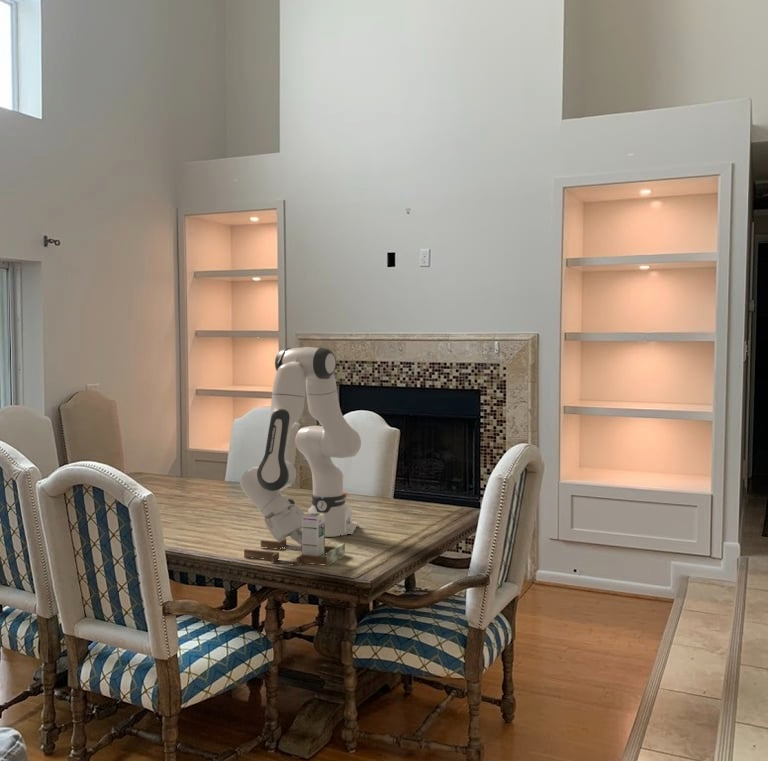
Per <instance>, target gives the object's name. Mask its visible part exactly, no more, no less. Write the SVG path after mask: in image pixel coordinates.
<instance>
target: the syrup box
mask: <svg viewBox="0 0 768 761" xmlns="http://www.w3.org/2000/svg"><path fill="white" fill-rule="evenodd" d="M301 530H302V552H301V555H312V556H322V557H326V556H325V555H326V554H325V546H326V545H325V544H326V540H325V539H326V537H325V514H323V513H315V512H309V513H308V512H307V513H306V514H305V515H304V516H302V529H301Z"/></svg>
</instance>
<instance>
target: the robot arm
mask: <svg viewBox="0 0 768 761" xmlns="http://www.w3.org/2000/svg"><path fill="white" fill-rule="evenodd" d="M336 367H337V359H336V356H335V354H334V353H333V351H332V350H331V349H328V348H325V347H315V346H314V347H312V346H303V347H293V348H292V347H286V348H283V349H281V350H279V352H277V355H276V356H275V359H274V368H275V370H276V374H275V377H274V381H273V387H272V394H271V402H270V418H269V426H268V431H267V432H268V433H267V437H266V438H267V439H266V444H265V445H266V446H265V451H264V452H265V453H264V455H263V458H262V460H261V462H260V464H259V465H258V466H252V467H251V468H249V469H248V470H247V471H245V473H244V474H243V475H242V477H241V480H240V487H241V490H242V491H243V492H244V494H245V495H246V496H247V498H248V499H249V500H250V501H251V503H252V504H254V505H255V506H256V507H257V508H258V510H259V512H260V514H261V515H262V516H263V518H264V523H265V525H266V528H267V530H268V531H269V533H270V534H271V536H272V537H273V538H274V540H276V541H278V542H279V541H281V540H283V539H284V538H286V539H287V538H288V537H290V538H291V539H292V540H293V541H295V542H297V544H298V545H299V546H301V544H302V516H304V515H306V514H305V513H304V511H303V510H302V509H301V508H300V507H299V506H298V505H297V502H296V500H294V498H287V497H284V496H283V495H282V494H281V492H282V491H283V490H286V489H287V488H289V487H290V486H292V485H293V484H294V483H295V481H296V480H297V476H298V475H297V474H298V472H297V467H296V466H295V464H294V463H292V461H289V460H286V458H285V457H286V452H287V451H286V450H287V444H288V439H289V433H290V430H291V428H292V427H293V426H294V425H295V424H296V423H297V422H298V421H299V420H300V419H301V417H302V415H303V412H304V407H305V403H306V402H305V401H306V400H307V408H308V413H309V415H310V416H311V417H312V418H313V419H315V420H316V421H317V422H319V424H320V425H308V426H303V427H301V428H300V429H299V430H298V431H297V433H296V435H295V446H296V448H297V450H298V451H299V453H301V454H302V455H303V456H304V458H305V459H306V461H307V463H308V465H309V468H310V471H311V476H312V494H311V498H310V499H311V506H310V507H309V508H308V512H307V514H308V513H309V512H315V513H323V514H325V538H327V537H330V538H333V537H340V535H341V536H348V535H347V534H351V535H353V534H354V533H355V531H356V530H357V528H358V526H359V524H358V522H357V521H353V516H352V515H353V513H352V510H351V509H350V508H349V507H348V506H347V504H346V498H347V492H344V474H343V472H342V470H341V469H340V468H339V467H337V466H336V465H335V464H334V463H333V462H334V461H332V458H338V459H346V458H347V459H348V458H352V457H355V456H356V455H357V454H358V453H359V452H360V450H361V447H362V445H361V444H362V438H361V436H360V433H359V432H357V430H355V429H354V428H353V427H352V426H350V424H349V423H348V422H347V420H346V419H345V417H344V415H343V413H342V411H341V410H342V409H341V407H340V401H339V394H338V387H337V382H336V376H335V370H336ZM356 527H357V528H356ZM354 530H355V531H354Z"/></svg>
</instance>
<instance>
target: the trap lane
mask: <svg viewBox="0 0 768 761" xmlns="http://www.w3.org/2000/svg"><path fill="white" fill-rule="evenodd" d="M261 547H267V548H277V549H280V548H282V547H283V548H284V547H285V549H284V550H286V549H295V550H294V551H297V550H301V551H302V544H301V545H294V544H293V545H292V544H287V537H286V538H284V539H283V540H281V541H277V540H276V541H275V540H268V539H267V540H265V539H261V540H260V548H261ZM277 549H276V550H277ZM280 550H281V549H280ZM301 551H300V552H301ZM325 553H327V554H326V556H324V557H322V556H312V555H302V554H300V555H299V556H297V557H296V561H294V560H293V562H291V560H283V559H280V552H278V551H270V550H269V551H268V550H267V551H266V550H257V549H248V548H247V549H244V550H243V555H244V556H243V557H244V558H245V557H253V558H252V559H255V558H264V559H263V560H265V559H271V560H270V563H271V562H273V563H272V564H275V563H282V564H281V565H285V564H293V565H292V566H295V565H300V564H301V563H303V564H305V563H314V564H313V565H315V564H325V565H331V564H332V563H334V562H335V561H336V560H338V559H339V558H340V557H342V556H343V555H344V554H345V555H346V542H340V543H339V544H338V545H336V546H331V545H325ZM345 555H344V556H345ZM344 556H343V557H344ZM343 557H342V558H343ZM278 559H279V560H278ZM340 559H341V558H340ZM340 559H339V560H340ZM339 560H338V561H339ZM289 561H290V562H289ZM336 562H337V561H336ZM336 562H335V563H336ZM335 563H334V564H335ZM301 565H302V564H301ZM301 565H300V566H301ZM325 565H324V566H325ZM332 565H333V564H332ZM332 565H331V566H332Z"/></svg>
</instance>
